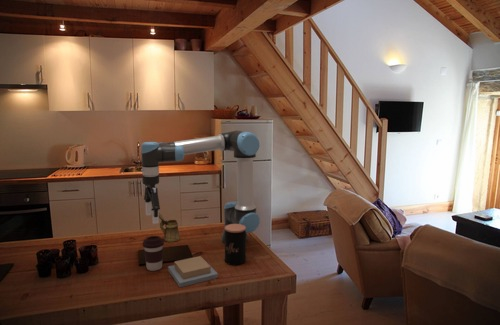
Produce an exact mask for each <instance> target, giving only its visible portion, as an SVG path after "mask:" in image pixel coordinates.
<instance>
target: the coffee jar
mask: <svg viewBox="0 0 500 325" xmlns="http://www.w3.org/2000/svg"><path fill="white" fill-rule="evenodd" d="M224 228H225V230H226V231H225V243H224V261H225V262H226V264H228V265H231V266H239V265H243V264H244V263H245V261H246V258H247V242H246V234H247V233H246V231H245V230H246V226H244V225H242V224H229V225H227V226H225V225H224Z"/></svg>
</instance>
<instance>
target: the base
mask: <svg viewBox="0 0 500 325" xmlns="http://www.w3.org/2000/svg"><path fill="white" fill-rule="evenodd" d="M173 264H174V265H169V266H167V271H168V272H169V274H170V276H171V277H172V278H173V280H174V281H175V283H176V284H177V286H178V287H179V288H184V287H186V286H187V287H188V286H191V285H195V284H199V283H202V282H203V283H204V282H207V281H210V280H211V281H213V280H215V279H218V278H219V274H218V272H217V271H216V270H215V269H214V268H213V267H212V266H211V265H210V264H209V262H207V261H206V260H205V259H204V258H203V257H202V256H201V255H198V256H194V257H189V258H184V259H180V260H176V261H174V263H173Z"/></svg>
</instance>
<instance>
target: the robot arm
mask: <svg viewBox="0 0 500 325" xmlns="http://www.w3.org/2000/svg"><path fill="white" fill-rule="evenodd" d="M259 149H260V140H259V138H258V137H257V135H256V134H254V133H253V132H249V131H245V130H244V131H243V130H233V131H228V132H222V133H219V134H217V135H214V136H207V137H200V138H199V137H198V138H191V139H184V140H183V139H182V140H178V141H176V140H175V141H169V142H164V141H163V142H162V141H161V142H157V141H145V142H142V143H141V152H140V153H141V169H140V171H141V172H142V177H141V178H142V181H141V182H142V184H143V185H144V195H143V196H144V198H143V200H144V203H145V216H146V217H147V216H152V225H155V224H159V223H160V218H159V213H160V211H159V210H160V209H161V207H160V206H161V205H160V200H159V191H158V187H156V185H159V183H160V175H159V174H160V166H159V165H160V163H166V162H167V163H168V162H181V161H183V160H184V158H185V155H192V154H198V153H206V152H211V151H212V152H214V151H220V152H223V151H230V152H233V158H234V159H235V160H236V187H237V188H236V191H237V194H236V196H237V198H236V199H237V201H235V200H234V201H228V202H226V203H225V204H224V206H223V209H224V210H223V211H224V212H223V213H224V215H223V216H224V220H223V221H224V228H223V231H222V235H221V242H222V243H223V244H225V231H226V230H225V226H227V225H229V224H242V225H244V226H246V230H245V231H246V243H247V241H248V233H249V234H250V233H252V232H255V231H256V230H257V229H258V228H259V226H260V223H261V218H260V216H259V214H257V205H255V203H254V159H256V158H257V156H256V155H257V153H258V151H259Z"/></svg>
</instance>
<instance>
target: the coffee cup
mask: <svg viewBox="0 0 500 325" xmlns="http://www.w3.org/2000/svg"><path fill="white" fill-rule="evenodd" d="M164 245H165V240H164V238H161V237H160V236H158V235H151V236H148V237H146V238H145V240H143V242H142V247H143V248H144V249H143V250H144V260H145V266H146V270H148V271H158V270H160V269H162V267H163V259H164Z"/></svg>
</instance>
